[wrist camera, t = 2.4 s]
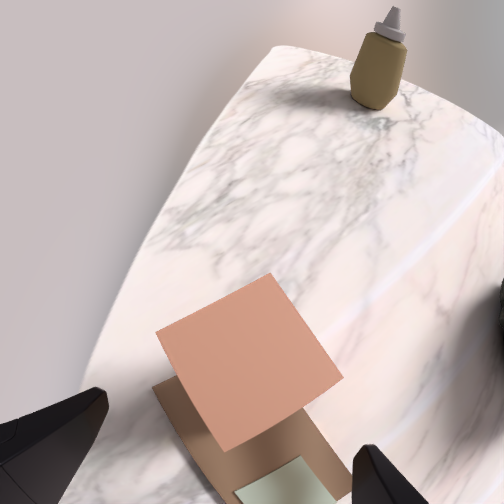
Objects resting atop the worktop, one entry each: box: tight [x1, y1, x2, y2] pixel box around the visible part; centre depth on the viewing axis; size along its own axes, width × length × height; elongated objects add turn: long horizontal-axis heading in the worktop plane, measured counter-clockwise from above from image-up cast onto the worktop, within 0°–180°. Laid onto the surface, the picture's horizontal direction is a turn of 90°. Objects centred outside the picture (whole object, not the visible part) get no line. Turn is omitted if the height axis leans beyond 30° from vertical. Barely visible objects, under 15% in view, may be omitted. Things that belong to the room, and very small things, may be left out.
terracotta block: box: [155, 273, 344, 452], centre depth 13 cm, size 4×4×10 cm
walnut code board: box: [152, 375, 352, 504], centre depth 15 cm, size 8×14×1 cm, turn 31°
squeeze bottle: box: [350, 6, 407, 110], centre depth 31 cm, size 8×8×18 cm
